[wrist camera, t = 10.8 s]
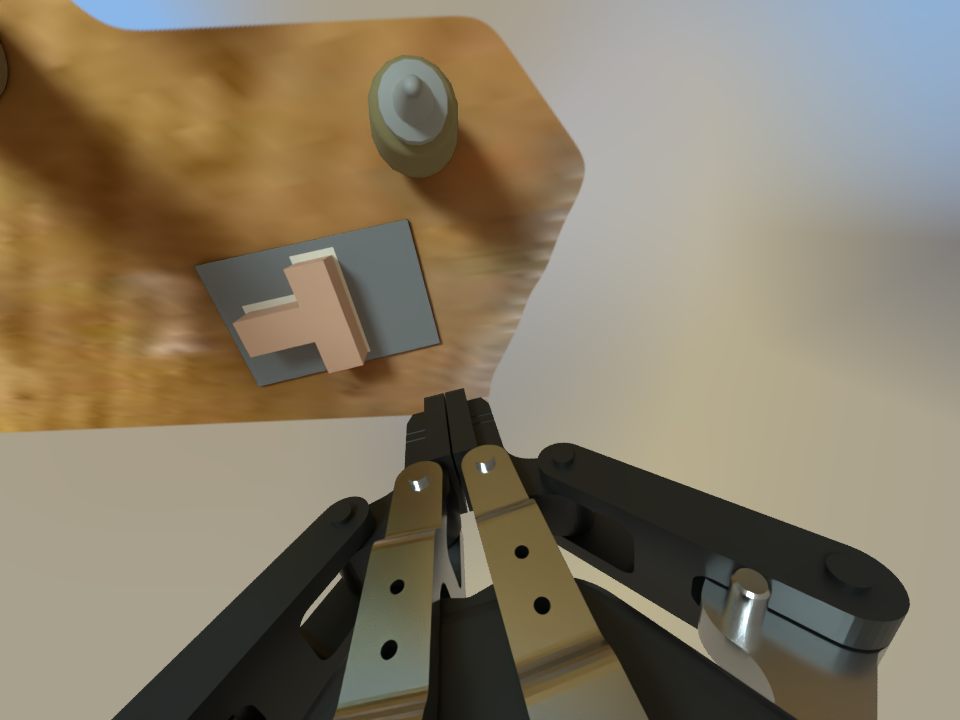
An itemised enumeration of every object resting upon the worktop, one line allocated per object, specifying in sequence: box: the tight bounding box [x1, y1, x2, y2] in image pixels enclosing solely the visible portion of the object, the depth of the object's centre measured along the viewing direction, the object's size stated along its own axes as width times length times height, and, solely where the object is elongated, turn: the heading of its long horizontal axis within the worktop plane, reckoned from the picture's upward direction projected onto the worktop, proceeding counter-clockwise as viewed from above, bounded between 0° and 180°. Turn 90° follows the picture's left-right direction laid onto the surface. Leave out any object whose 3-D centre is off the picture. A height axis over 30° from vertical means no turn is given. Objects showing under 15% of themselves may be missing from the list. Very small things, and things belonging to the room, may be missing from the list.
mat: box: [194, 219, 440, 387], centre depth 42 cm, size 15×23×1 cm, turn 101°
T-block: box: [232, 255, 368, 373], centre depth 40 cm, size 12×11×4 cm
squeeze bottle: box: [368, 55, 458, 178], centre depth 29 cm, size 8×8×18 cm
